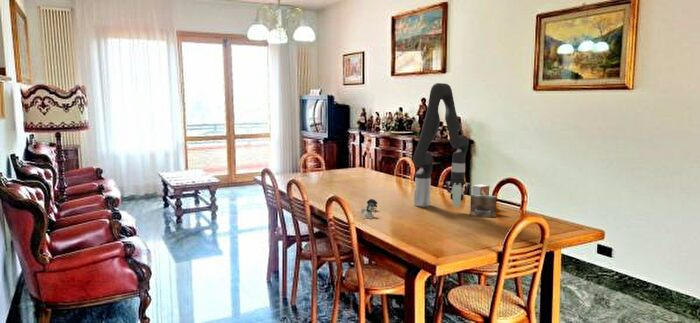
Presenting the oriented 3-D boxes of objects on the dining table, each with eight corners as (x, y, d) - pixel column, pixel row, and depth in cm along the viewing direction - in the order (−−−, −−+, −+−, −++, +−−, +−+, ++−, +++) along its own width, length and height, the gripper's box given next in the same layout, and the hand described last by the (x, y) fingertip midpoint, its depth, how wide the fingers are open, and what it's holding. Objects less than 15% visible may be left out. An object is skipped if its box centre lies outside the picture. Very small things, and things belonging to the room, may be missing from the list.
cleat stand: (469, 215, 264) (469, 198, 263) (470, 211, 274) (470, 194, 273) (495, 217, 260) (496, 200, 258) (495, 213, 270) (496, 196, 269)
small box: (479, 208, 282) (480, 186, 280) (471, 206, 287) (472, 185, 285) (488, 206, 286) (489, 185, 284) (480, 204, 291) (481, 184, 290)
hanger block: (452, 205, 269) (453, 185, 267) (453, 203, 274) (454, 183, 273) (460, 206, 267) (461, 185, 266) (461, 204, 273) (462, 183, 271)
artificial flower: (379, 212, 280) (384, 196, 277) (370, 225, 259) (374, 209, 256) (365, 207, 282) (369, 192, 279) (355, 220, 261) (359, 204, 258)
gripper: (444, 170, 266) (443, 200, 269) (470, 172, 262) (469, 202, 265) (446, 168, 274) (444, 198, 276) (471, 170, 269) (470, 199, 272)
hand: (456, 200), depth 270 cm, fingers closed on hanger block, 4 cm apart
